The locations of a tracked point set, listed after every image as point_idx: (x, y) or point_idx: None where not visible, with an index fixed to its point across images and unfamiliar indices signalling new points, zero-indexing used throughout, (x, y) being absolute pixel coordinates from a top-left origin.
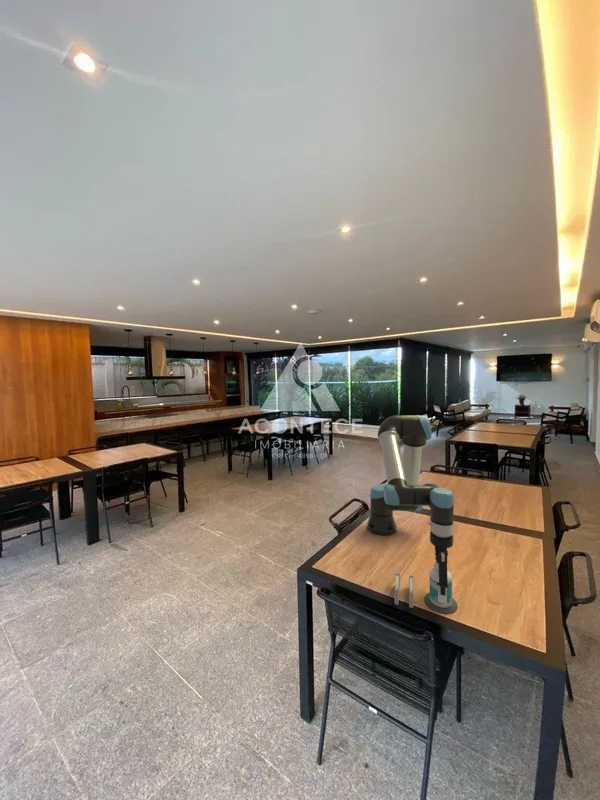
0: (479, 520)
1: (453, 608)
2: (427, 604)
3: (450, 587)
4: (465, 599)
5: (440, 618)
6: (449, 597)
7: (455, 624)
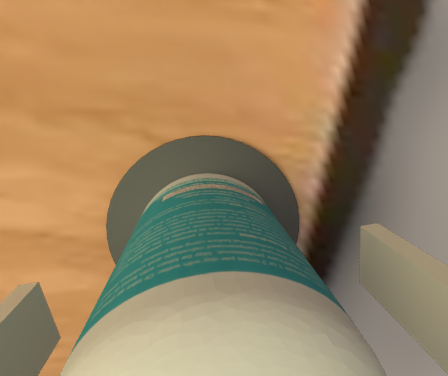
0: None
1: (237, 158)
2: None
3: (275, 240)
4: (84, 82)
5: (338, 217)
6: (261, 206)
7: (360, 141)
